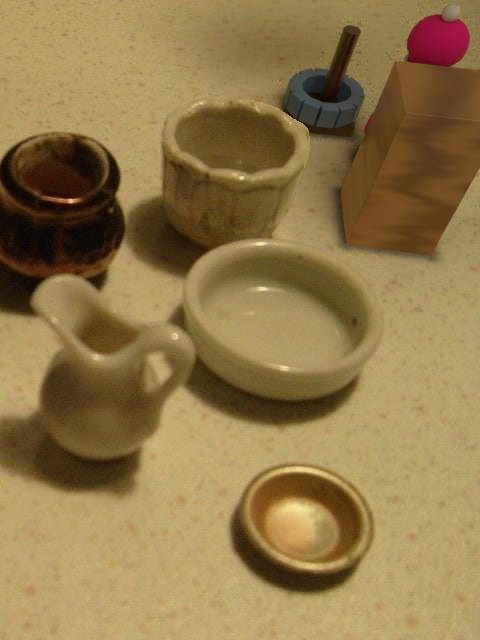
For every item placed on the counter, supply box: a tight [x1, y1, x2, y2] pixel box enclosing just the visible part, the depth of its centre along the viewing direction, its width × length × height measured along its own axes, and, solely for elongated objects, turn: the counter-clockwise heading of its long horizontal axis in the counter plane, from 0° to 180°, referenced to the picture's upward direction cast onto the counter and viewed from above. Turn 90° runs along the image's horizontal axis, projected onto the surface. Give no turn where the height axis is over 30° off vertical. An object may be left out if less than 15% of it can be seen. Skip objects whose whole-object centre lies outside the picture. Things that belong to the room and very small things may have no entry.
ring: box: [283, 67, 366, 128], centre depth 106 cm, size 9×9×2 cm
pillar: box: [340, 60, 480, 256], centre depth 89 cm, size 9×9×17 cm
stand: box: [292, 24, 362, 138], centre depth 104 cm, size 7×7×12 cm
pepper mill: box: [363, 3, 471, 136], centre depth 95 cm, size 7×7×20 cm
